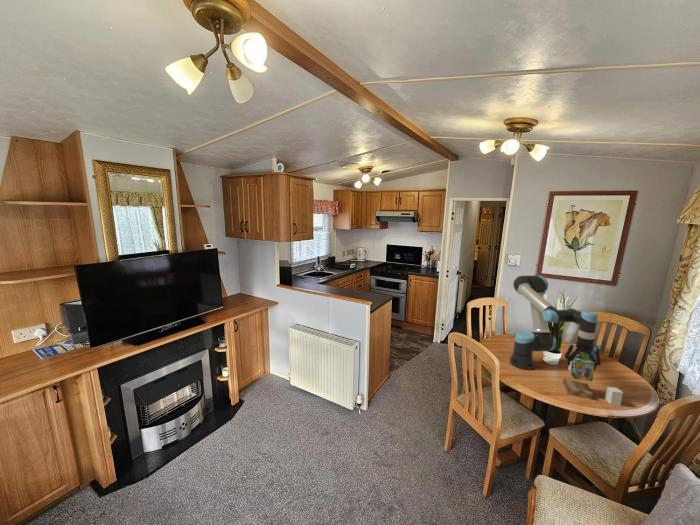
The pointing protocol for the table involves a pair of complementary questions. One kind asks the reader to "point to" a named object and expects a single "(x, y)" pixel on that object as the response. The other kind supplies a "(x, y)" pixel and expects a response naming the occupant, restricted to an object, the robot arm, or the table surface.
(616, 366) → the table surface
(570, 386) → the walnut block
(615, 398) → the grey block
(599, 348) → the snack cup
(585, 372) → the chalk box
